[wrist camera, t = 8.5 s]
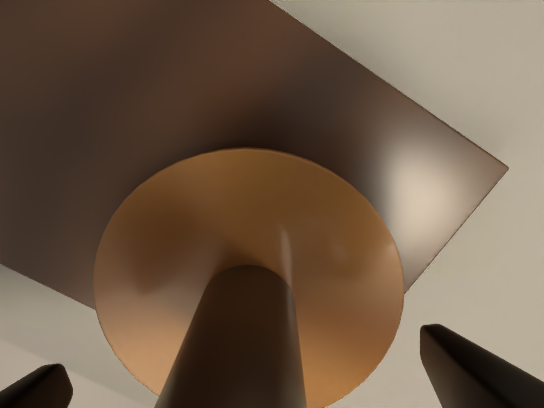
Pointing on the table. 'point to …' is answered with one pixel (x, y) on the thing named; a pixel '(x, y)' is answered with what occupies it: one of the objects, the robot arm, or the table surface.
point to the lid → (248, 283)
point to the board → (202, 123)
